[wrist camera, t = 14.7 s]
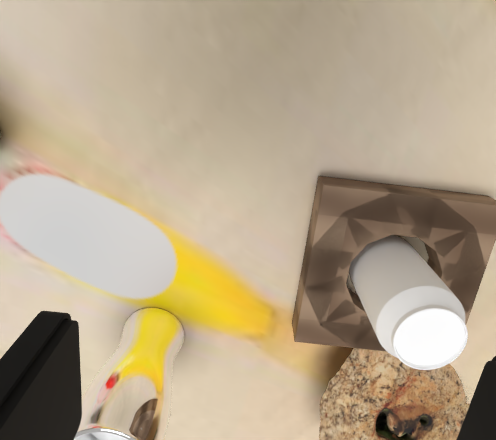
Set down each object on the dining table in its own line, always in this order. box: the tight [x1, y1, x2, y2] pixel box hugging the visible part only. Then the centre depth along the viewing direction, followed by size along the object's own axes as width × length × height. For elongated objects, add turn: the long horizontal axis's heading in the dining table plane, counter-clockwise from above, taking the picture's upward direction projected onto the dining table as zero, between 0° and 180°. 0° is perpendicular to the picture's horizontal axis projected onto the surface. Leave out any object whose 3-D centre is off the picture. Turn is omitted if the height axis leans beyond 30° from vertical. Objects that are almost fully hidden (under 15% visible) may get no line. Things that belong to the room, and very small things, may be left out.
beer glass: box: [74, 308, 184, 440], centre depth 35 cm, size 7×7×15 cm
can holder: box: [292, 176, 496, 351], centre depth 38 cm, size 15×15×3 cm
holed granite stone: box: [319, 348, 470, 440], centre depth 43 cm, size 18×14×8 cm
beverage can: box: [349, 235, 468, 370], centre depth 34 cm, size 6×6×12 cm
